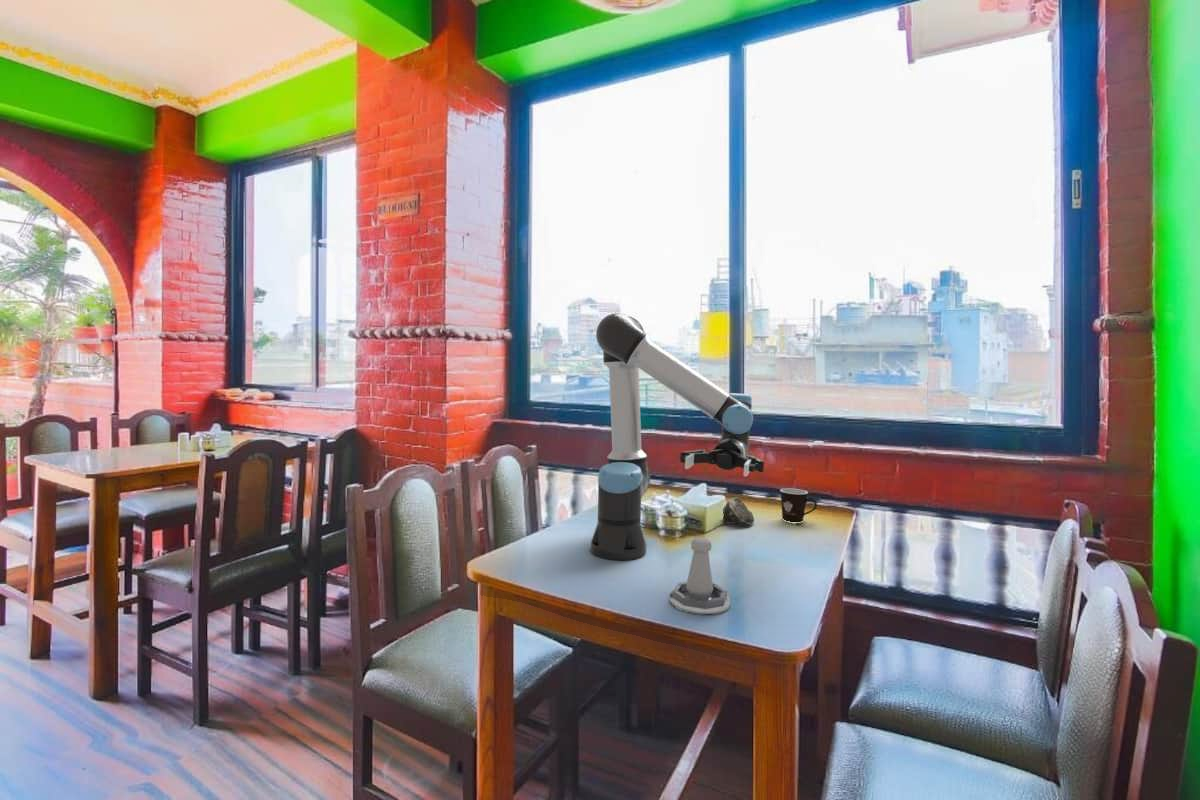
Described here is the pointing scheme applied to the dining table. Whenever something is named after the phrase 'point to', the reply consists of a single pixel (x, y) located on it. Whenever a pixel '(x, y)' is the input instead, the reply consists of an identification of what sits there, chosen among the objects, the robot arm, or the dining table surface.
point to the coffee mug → (794, 504)
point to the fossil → (737, 513)
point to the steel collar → (711, 606)
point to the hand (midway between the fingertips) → (715, 466)
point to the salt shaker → (700, 570)
